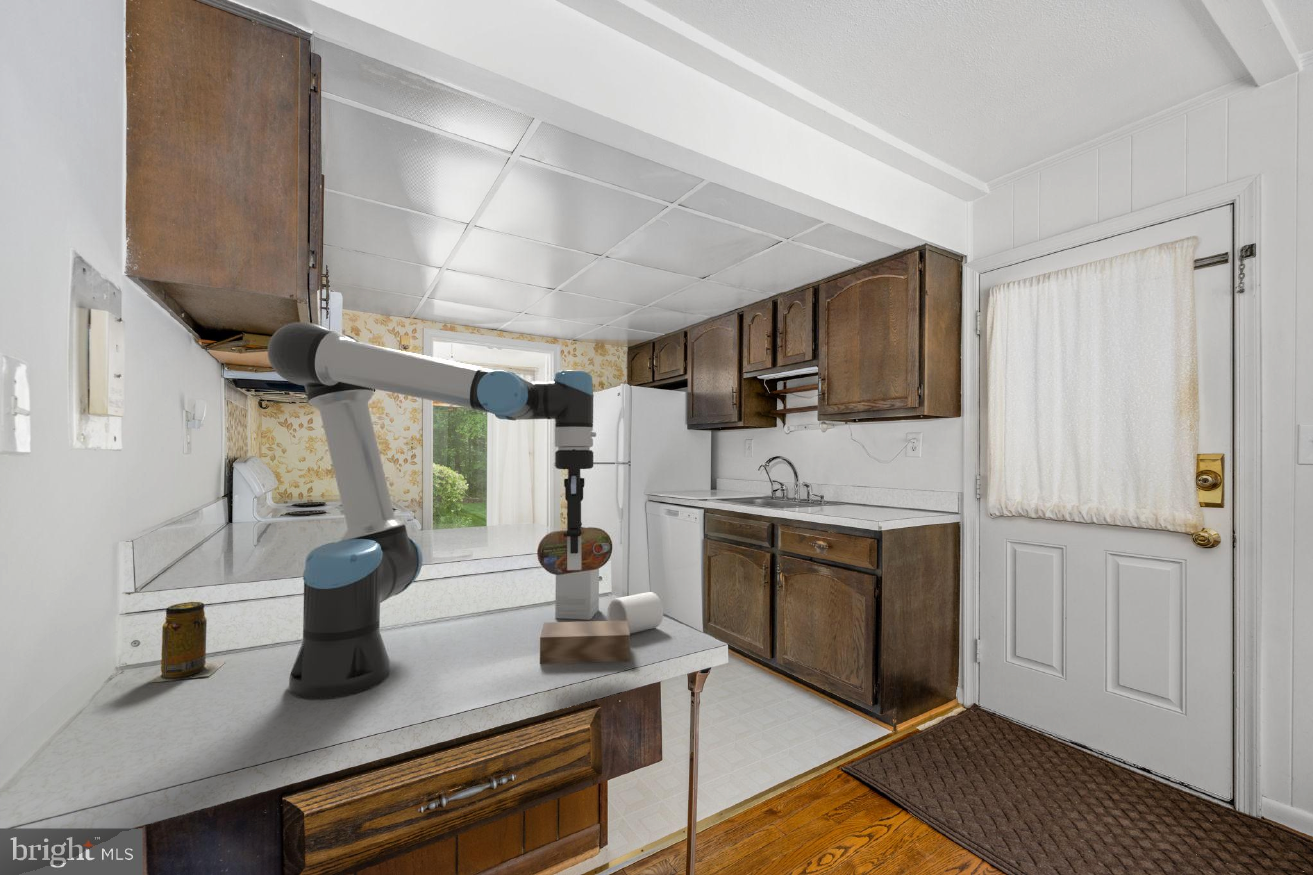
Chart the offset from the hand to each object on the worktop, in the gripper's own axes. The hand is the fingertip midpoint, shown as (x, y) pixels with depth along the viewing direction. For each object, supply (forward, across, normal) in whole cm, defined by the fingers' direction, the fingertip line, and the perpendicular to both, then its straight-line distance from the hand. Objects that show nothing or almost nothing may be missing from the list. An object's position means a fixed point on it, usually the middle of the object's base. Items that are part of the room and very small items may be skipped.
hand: (574, 566), depth 110 cm
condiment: (+16, -3, +68) cm, 70 cm away
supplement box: (+18, +28, 0) cm, 33 cm away
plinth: (+17, 0, -2) cm, 18 cm away
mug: (+18, +16, -12) cm, 27 cm away
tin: (+1, 0, 0) cm, 1 cm away
